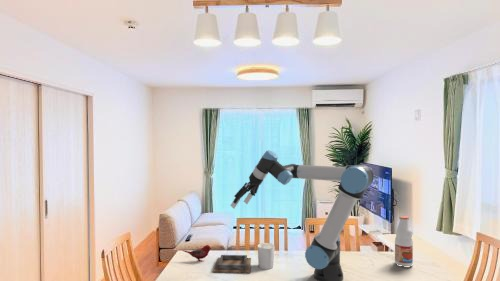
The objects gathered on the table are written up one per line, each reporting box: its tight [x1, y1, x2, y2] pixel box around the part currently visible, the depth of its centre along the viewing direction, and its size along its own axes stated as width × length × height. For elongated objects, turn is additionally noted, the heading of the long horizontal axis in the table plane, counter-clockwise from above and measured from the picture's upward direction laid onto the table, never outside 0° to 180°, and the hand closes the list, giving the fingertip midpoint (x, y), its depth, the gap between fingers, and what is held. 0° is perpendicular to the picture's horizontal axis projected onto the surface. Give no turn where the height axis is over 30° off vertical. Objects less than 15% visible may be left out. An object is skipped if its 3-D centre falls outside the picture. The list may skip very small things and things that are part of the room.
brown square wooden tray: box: [212, 254, 252, 274], centre depth 190 cm, size 20×20×4 cm
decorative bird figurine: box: [182, 244, 212, 263], centre depth 197 cm, size 3×18×10 cm, turn 83°
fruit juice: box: [394, 215, 414, 266], centre depth 192 cm, size 9×9×28 cm
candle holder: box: [256, 242, 275, 270], centre depth 189 cm, size 10×10×12 cm
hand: (239, 204), depth 188 cm, fingers open, 13 cm apart
